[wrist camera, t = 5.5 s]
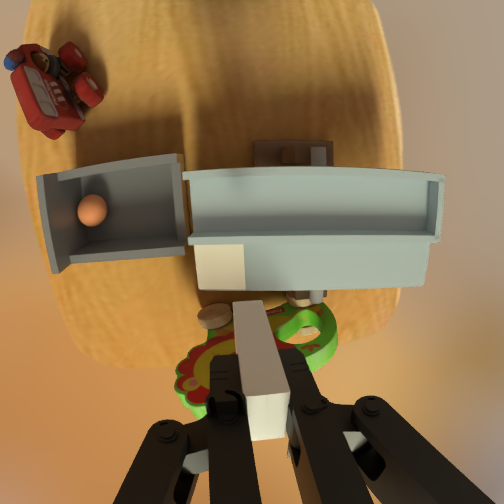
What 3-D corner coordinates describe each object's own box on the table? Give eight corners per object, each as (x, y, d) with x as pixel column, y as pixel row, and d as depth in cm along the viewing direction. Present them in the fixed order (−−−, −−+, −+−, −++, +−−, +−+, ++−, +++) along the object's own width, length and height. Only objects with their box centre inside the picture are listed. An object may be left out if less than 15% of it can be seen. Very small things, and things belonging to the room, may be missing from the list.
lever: (193, 152, 22) (181, 151, 19) (426, 155, 20) (445, 155, 17) (206, 297, 26) (197, 314, 23) (414, 293, 24) (427, 308, 21)
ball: (79, 195, 26) (72, 198, 23) (107, 190, 27) (102, 193, 24) (83, 225, 26) (76, 231, 24) (111, 220, 28) (107, 226, 25)
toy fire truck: (76, 38, 21) (32, 5, 11) (115, 112, 24) (69, 93, 15) (32, 76, 21) (-20, 58, 11) (66, 151, 25) (9, 152, 15)
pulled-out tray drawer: (76, 170, 26) (36, 176, 18) (184, 155, 27) (171, 152, 19) (86, 247, 28) (52, 273, 21) (190, 238, 29) (181, 265, 22)
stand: (253, 141, 27) (263, 135, 21) (329, 141, 28) (356, 138, 22) (258, 281, 32) (268, 310, 26) (327, 275, 33) (349, 300, 26)
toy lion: (313, 276, 32) (376, 355, 18) (318, 315, 34) (372, 401, 20) (178, 309, 32) (158, 408, 17) (193, 346, 34) (185, 447, 19)
